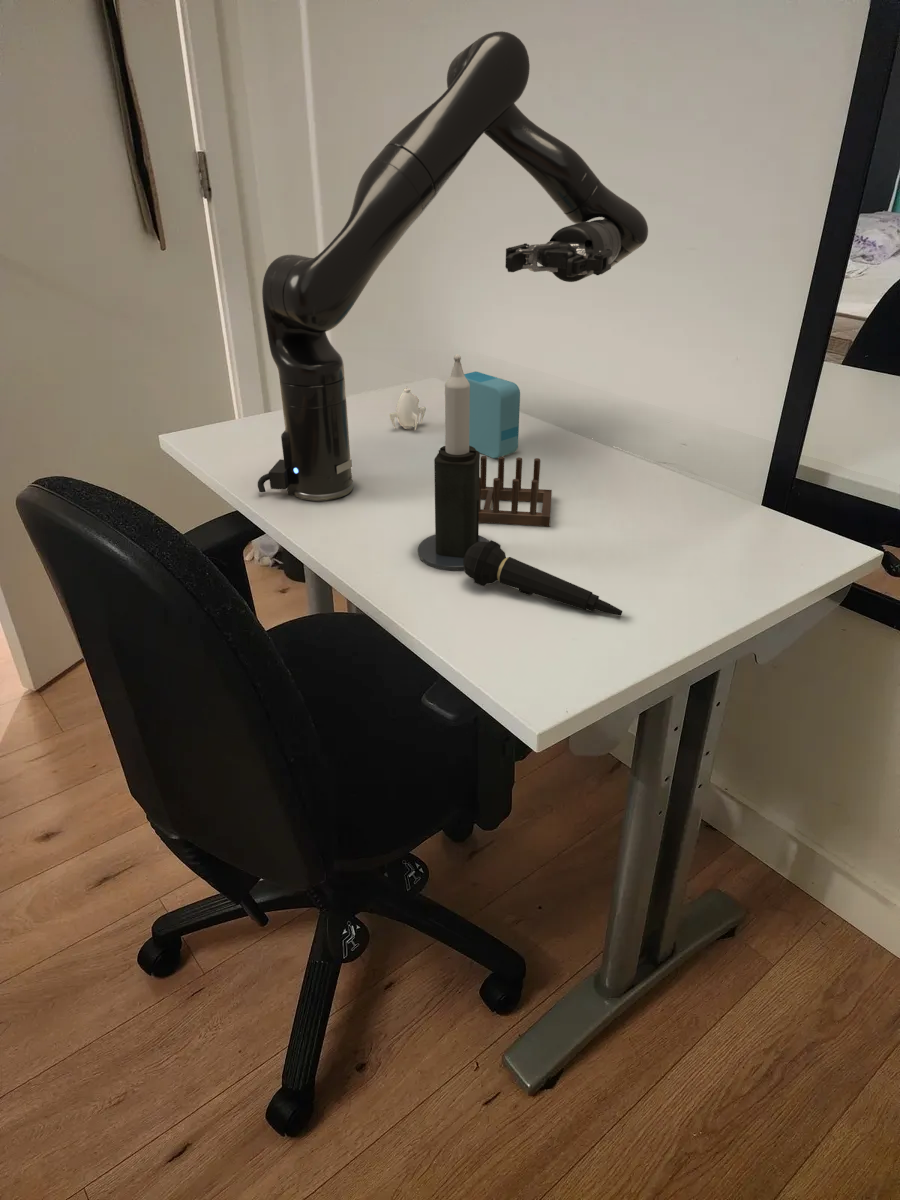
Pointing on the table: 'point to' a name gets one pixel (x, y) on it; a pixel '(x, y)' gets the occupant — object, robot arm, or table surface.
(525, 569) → the microphone
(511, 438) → the data package
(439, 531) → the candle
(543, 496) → the drying rack
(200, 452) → the table surface
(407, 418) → the rocket toy
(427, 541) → the slate coaster
